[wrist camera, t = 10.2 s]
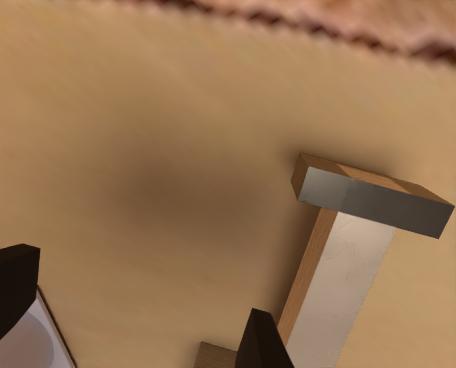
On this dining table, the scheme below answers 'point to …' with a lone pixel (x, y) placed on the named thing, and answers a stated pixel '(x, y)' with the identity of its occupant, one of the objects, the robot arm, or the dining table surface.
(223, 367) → the bearing block
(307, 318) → the shaft
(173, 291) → the dining table surface
